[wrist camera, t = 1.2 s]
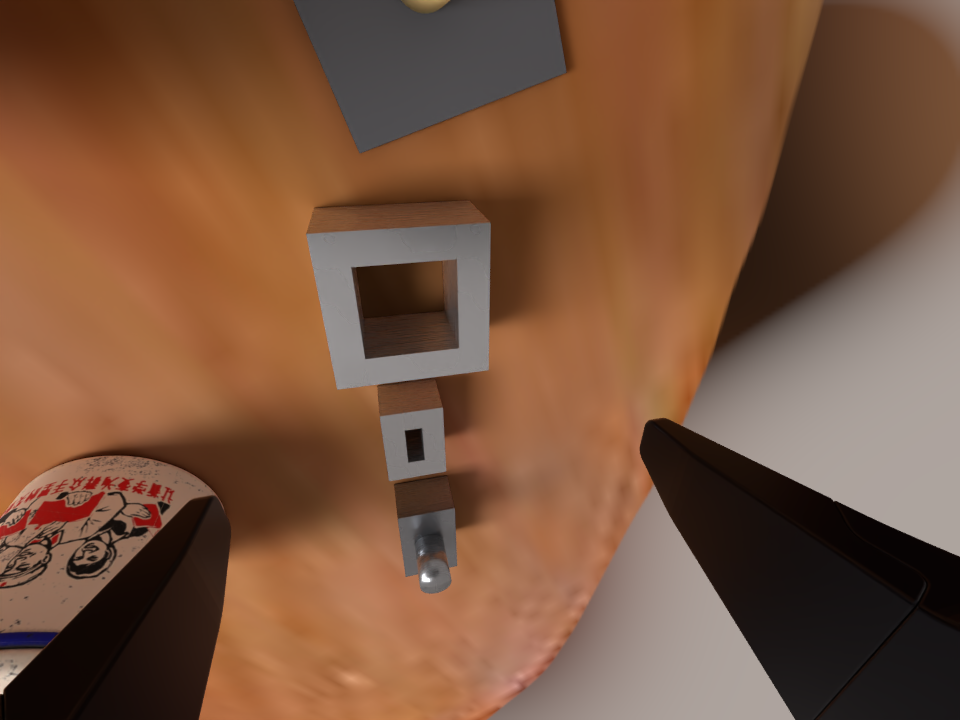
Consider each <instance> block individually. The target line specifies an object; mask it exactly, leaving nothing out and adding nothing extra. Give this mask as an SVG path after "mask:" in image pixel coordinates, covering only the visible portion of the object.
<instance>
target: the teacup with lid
mask: <svg viewBox="0 0 960 720" xmlns="http://www.w3.org/2000/svg"><path fill="white" fill-rule="evenodd" d="M209 495H215V496H217V495H216V494H215V493H214V491H213V490H212V489H211V488H210V487H209V486H208V485H207V484H205V483H204V482H203V481H202V480H200V479H199V478H197V477H196V476H194V475H192V474H191V473H189V472H187V471H185V470H183V469H181V468H178V467H176V466H173V465H170V464H167V463H164V462H161V461H157V460H152V459H147V458H142V457H133V456H98V457H91V458H84V459H79V460H75V461H71V462H68V463H64V464H62V465H59V466H57V467H54V468H52V469H50V470H48V471H46V472H44V473H43V474H41V475H39V476H38V477H36V478H35V479H34V480H33V481H31V482H30V483H29V484H28V485H27V486H26V487H25V488H24V489H23V490H22V491H21V492H20V494H19V495H18V496H17V497H16V499H15V500H14V501H13V502H12V504H11V505H10V506H9V507H8V509H7V510H6V511H5V512H4V513H3V515H2V516H1V517H0V694H3V690H4V688H5V687H6V686H7V685H8V684H9V683H10V682H11V681H12V680H13V679H14V678H15V677H16V676H17V675H18V674H19V673H20V672H21V671H22V670H23V669H24V668H25V667H26V666H27V665H28V664H29V663H30V662H31V661H32V660H33V659H34V658H35V657H36V656H37V655H38V654H39V653H40V652H41V651H42V650H43V649H44V647H45V646H46V645H47V644H48V643H49V642H50V641H51V640H52V639H53V638H54V637H55V636H56V635H57V634H58V633H59V632H60V631H61V630H62V629H63V628H64V627H65V626H66V625H67V624H68V623H69V622H70V621H71V620H72V619H73V618H74V617H75V616H76V615H77V614H78V613H79V612H80V611H81V610H82V609H83V608H84V607H85V606H86V605H87V604H88V603H89V602H90V601H91V600H92V599H93V598H94V597H95V596H96V595H97V594H98V593H99V592H100V591H101V590H102V589H103V588H104V587H105V586H106V584H107V583H108V582H109V581H110V580H111V579H112V578H113V577H114V576H115V575H116V574H117V573H118V572H119V571H120V570H121V569H122V568H123V567H124V566H125V565H126V564H127V563H128V562H129V561H130V560H131V559H132V558H133V557H134V556H135V555H136V554H137V553H138V552H139V551H140V550H141V549H142V548H143V547H144V546H145V545H146V544H147V543H148V542H149V541H150V540H151V539H152V538H153V537H154V536H155V535H156V534H157V533H158V532H159V531H160V530H161V529H162V528H163V527H164V526H165V525H166V524H167V523H168V521H169V520H170V519H171V518H172V517H173V516H174V515H175V514H176V513H177V512H178V511H179V510H180V509H181V508H182V507H183V506H184V505H185V504H186V503H187V502H188V501H190V500H191V499H193V498H198V497H203V496H209ZM217 497H218V496H217ZM218 499H219V498H218ZM219 500H220V499H219ZM220 502H221V501H220ZM221 505H222V503H221ZM222 507H223V505H222ZM223 509H224V507H223Z"/></svg>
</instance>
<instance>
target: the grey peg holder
mask: <svg viewBox="0 0 960 720" xmlns="http://www.w3.org/2000/svg"><path fill="white" fill-rule="evenodd" d="M293 1H294V3H295V6H296V8H297V10H298V12H299V15H300V17H301V19H302V22H303V24H304V26H305V29H306V31H307V33H308V35H309V38H310V40H311V42H312V45H313V47H314V49H315V52H316V54H317V56H318V58H319V61H320V63H321V65H322V68H323V70H324V72H325V75H326V77H327V79H328V81H329V84H330V86H331V88H332V91H333V93H334V95H335V98H336V100H337V102H338V104H339V107H340V109H341V111H342V114H343V116H344V118H345V121H346V123H347V125H348V127H349V130H350V132H351V134H352V137H353V139H354V141H355V144H356V146H357V148H358V150H359V153H362V152H365V151H367V150H370V149H372V148H375V147H377V146H380V145H383V144H385V143H388V142H390V141H393V140H395V139H398V138H400V137H403V136H406V135H408V134H411V133H413V132H416V131H418V130H421V129H423V128H426V127H429V126H431V125H434V124H436V123H439V122H441V121H444V120H446V119H449V118H452V117H454V116H457V115H459V114H462V113H464V112H467V111H470V110H472V109H475V108H477V107H480V106H482V105H485V104H487V103H490V102H493V101H495V100H498V99H500V98H503V97H505V96H508V95H510V94H513V93H516V92H518V91H521V90H523V89H526V88H528V87H531V86H534V85H536V84H539V83H541V82H544V81H546V80H549V79H551V78H554V77H557V76H559V75H562V74H564V73H567V72H566V66H565V60H564V54H563V48H562V42H561V36H560V30H559V24H558V18H557V13H556V7H555V1H554V0H293Z"/></svg>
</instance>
